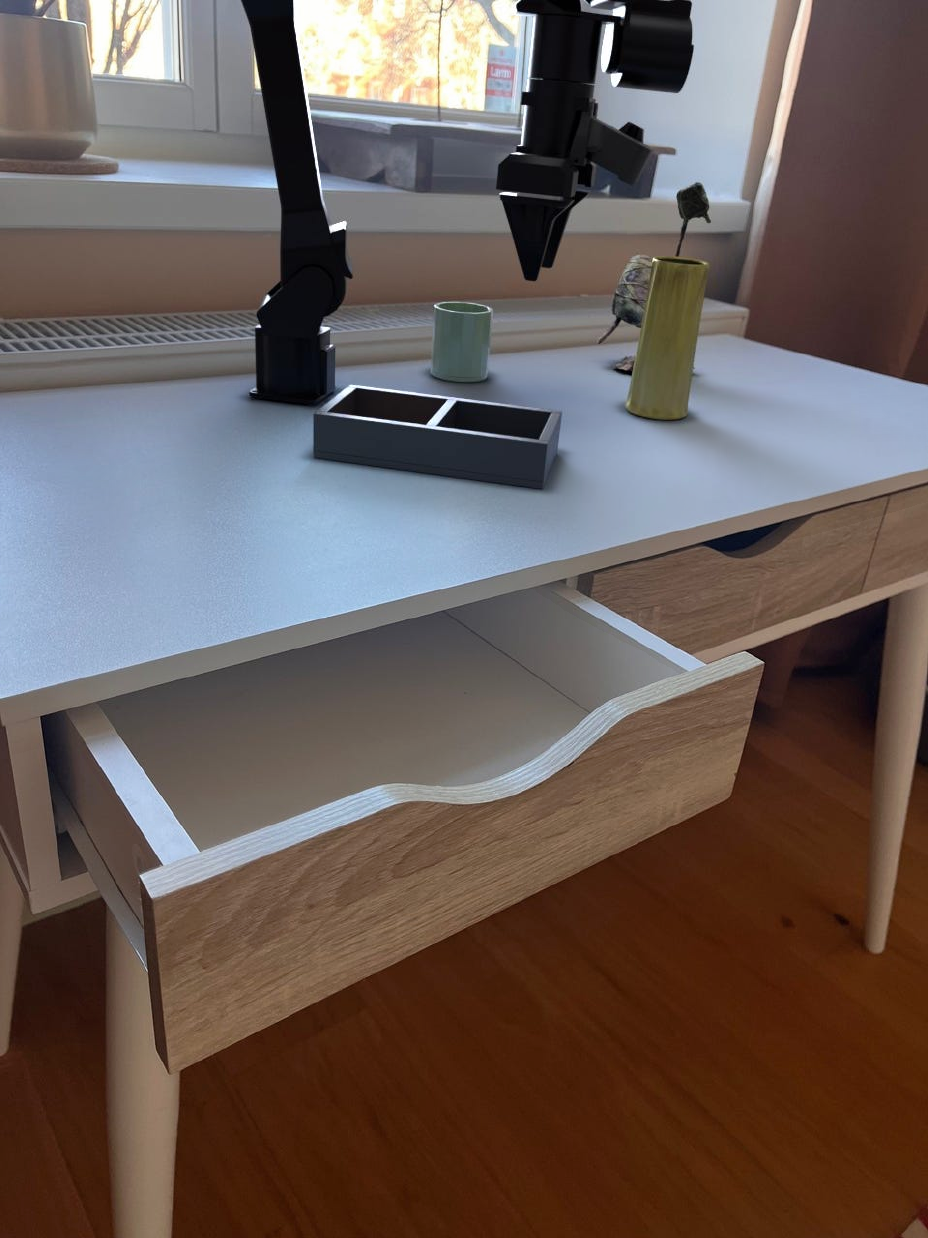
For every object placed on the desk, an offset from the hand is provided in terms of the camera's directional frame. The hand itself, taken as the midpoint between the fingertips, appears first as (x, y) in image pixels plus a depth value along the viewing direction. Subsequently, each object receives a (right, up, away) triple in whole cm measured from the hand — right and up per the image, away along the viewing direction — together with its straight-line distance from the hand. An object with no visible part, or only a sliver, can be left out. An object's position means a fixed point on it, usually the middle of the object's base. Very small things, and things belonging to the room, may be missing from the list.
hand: (538, 273), depth 92 cm
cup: (-7, -6, +14) cm, 17 cm away
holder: (-9, -18, -10) cm, 23 cm away
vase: (+12, -11, +7) cm, 18 cm away
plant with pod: (+14, -3, +23) cm, 27 cm away
